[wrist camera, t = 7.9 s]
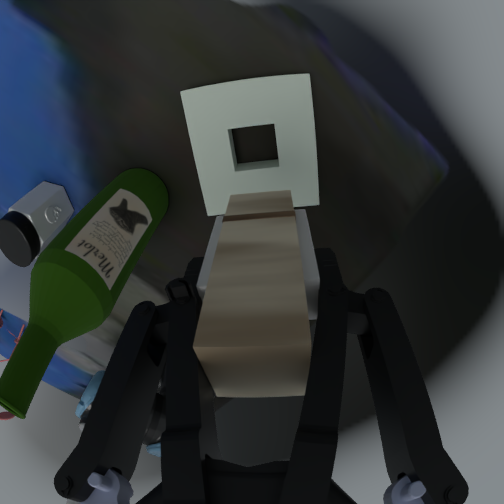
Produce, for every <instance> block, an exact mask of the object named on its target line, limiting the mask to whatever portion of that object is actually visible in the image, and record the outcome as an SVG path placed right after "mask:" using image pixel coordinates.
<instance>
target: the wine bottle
mask: <svg viewBox="0 0 504 504" xmlns="http://www.w3.org/2000/svg"><path fill="white" fill-rule="evenodd" d="M168 204H169V203H168V192H167V189H166V187H165V185H164V183H163V182H162V180H161V179H160V178H159V177H158V176H157V175H155V174H154V173H152V172H151V171H148V170H145V169H139V168H134V169H130V170H126V171H124V172H123V173H121V174H120V175H119V176H117V177H116V178H115V179H114V180H113V181H112V182H111V183H109V184H108V185H107V186H106V187H105V188H104V189H103V190H102V191H101V192H100V193H98V194H97V195H96V196H95V197H94V198H93V199H92V200H91V201H90V202H89V203H88V204H87V205H86V206H85V207H84V208H83V209H82V210H81V211H80V212H79V213H78V214H77V215H76V216H75V217H74V218H73V219H72V220H71V221H70V222H69V223H68V224H67V225H66V226H65V227H64V228H63V229H62V230H61V231H60V232H59V233H58V234H57V236H56V237H55V238H54V239H53V240H52V241H51V242H50V243H49V244H48V246H47V247H46V248H45V249H44V250H43V251H42V252H41V254H40V255H39V257H38V259H37V261H36V263H35V265H34V268H33V269H32V272H31V283H30V318H29V323H28V326H27V328H26V330H25V331H24V333H23V335H22V337H21V339H20V340H19V342H18V344H17V346H16V348H15V350H14V352H13V353H12V355H11V357H10V359H9V361H8V363H7V365H6V367H5V369H4V372H3V374H2V376H1V378H0V405H1V406H2V407H3V408H5V409H6V410H8V411H9V412H10V413H12V414H13V415H15V416H17V417H19V418H21V419H25V417H26V416H25V415H26V413H27V410H28V408H29V406H30V403H31V401H32V399H33V397H34V394H35V392H36V390H37V388H38V386H39V383H40V381H41V379H42V377H43V375H44V373H45V371H46V369H47V367H48V365H49V363H50V361H51V359H52V357H53V355H54V353H55V351H56V349H57V348H58V347H59V346H60V345H61V344H62V343H65V342H67V341H69V340H71V339H73V338H76V337H78V336H80V335H82V334H84V333H87V332H89V331H91V330H93V329H95V328H97V327H98V326H100V325H101V324H102V323H103V322H104V321H105V319H106V318H107V317H108V316H109V315H110V313H111V311H112V309H113V307H114V305H115V303H116V301H117V299H118V297H119V295H120V293H121V291H122V289H123V287H124V285H125V283H126V282H127V280H128V278H129V276H130V274H131V272H132V270H133V268H134V267H135V265H136V263H137V261H138V259H139V258H140V256H141V254H142V252H143V250H144V249H145V247H146V245H147V243H148V242H149V240H150V238H151V237H152V235H153V233H154V231H155V230H156V228H157V226H158V225H159V223H160V221H161V220H162V218H163V216H164V215H165V213H166V212H167V208H168Z"/></svg>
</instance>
